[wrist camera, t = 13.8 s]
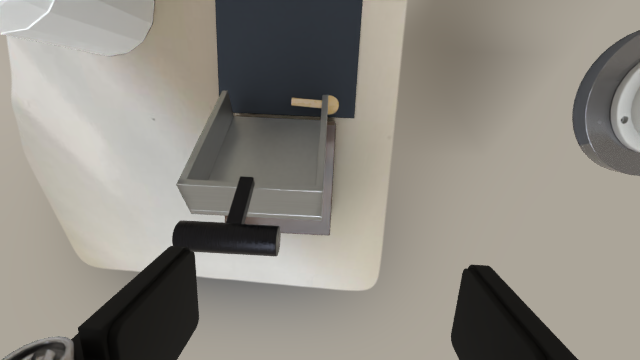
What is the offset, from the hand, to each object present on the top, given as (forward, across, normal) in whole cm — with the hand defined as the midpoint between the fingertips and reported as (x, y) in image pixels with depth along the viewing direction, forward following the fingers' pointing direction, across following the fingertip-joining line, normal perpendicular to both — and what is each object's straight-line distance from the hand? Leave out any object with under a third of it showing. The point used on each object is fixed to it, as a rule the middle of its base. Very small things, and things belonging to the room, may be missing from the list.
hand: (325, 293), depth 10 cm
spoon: (+32, +3, -6) cm, 32 cm away
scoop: (+17, +6, +1) cm, 18 cm away
